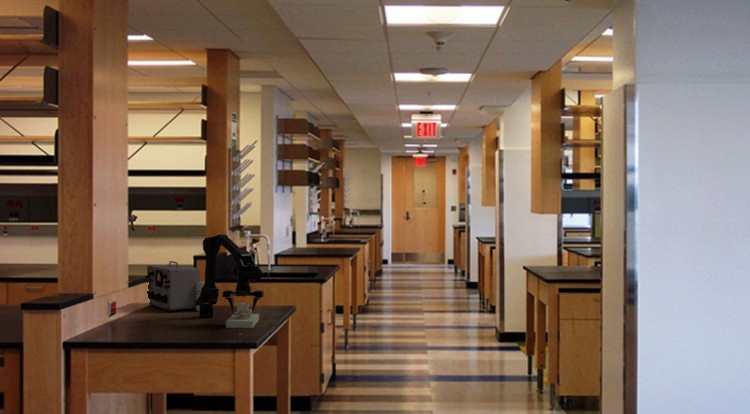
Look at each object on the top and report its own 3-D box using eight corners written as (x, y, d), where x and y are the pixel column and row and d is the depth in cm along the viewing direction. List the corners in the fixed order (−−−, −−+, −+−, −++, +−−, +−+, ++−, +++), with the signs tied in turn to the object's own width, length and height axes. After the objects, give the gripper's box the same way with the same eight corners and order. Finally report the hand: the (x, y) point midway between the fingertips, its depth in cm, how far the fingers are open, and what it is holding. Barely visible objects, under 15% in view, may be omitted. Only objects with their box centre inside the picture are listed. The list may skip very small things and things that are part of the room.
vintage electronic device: (143, 306, 406) (143, 260, 406) (175, 303, 417) (175, 259, 417) (166, 313, 381) (166, 264, 380) (199, 310, 392) (199, 263, 391)
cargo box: (237, 311, 348) (237, 304, 348) (238, 310, 353) (238, 303, 353) (247, 311, 348) (247, 304, 348) (248, 310, 353) (248, 303, 353)
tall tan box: (234, 319, 345) (234, 312, 345) (237, 315, 356) (238, 309, 356) (248, 319, 345) (248, 312, 345) (251, 315, 356) (251, 309, 356)
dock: (225, 327, 339) (226, 321, 339) (234, 320, 361) (234, 313, 361) (252, 327, 340) (252, 321, 340) (259, 320, 362) (259, 314, 362)
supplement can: (214, 310, 393) (215, 281, 393) (205, 312, 386) (205, 283, 385) (202, 309, 396) (202, 281, 396) (192, 311, 389) (192, 282, 389)
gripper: (220, 280, 342) (219, 314, 342) (261, 280, 342) (260, 314, 343) (224, 278, 353) (224, 311, 353) (264, 278, 354) (263, 311, 354)
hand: (243, 312), depth 350 cm, fingers open, 9 cm apart
